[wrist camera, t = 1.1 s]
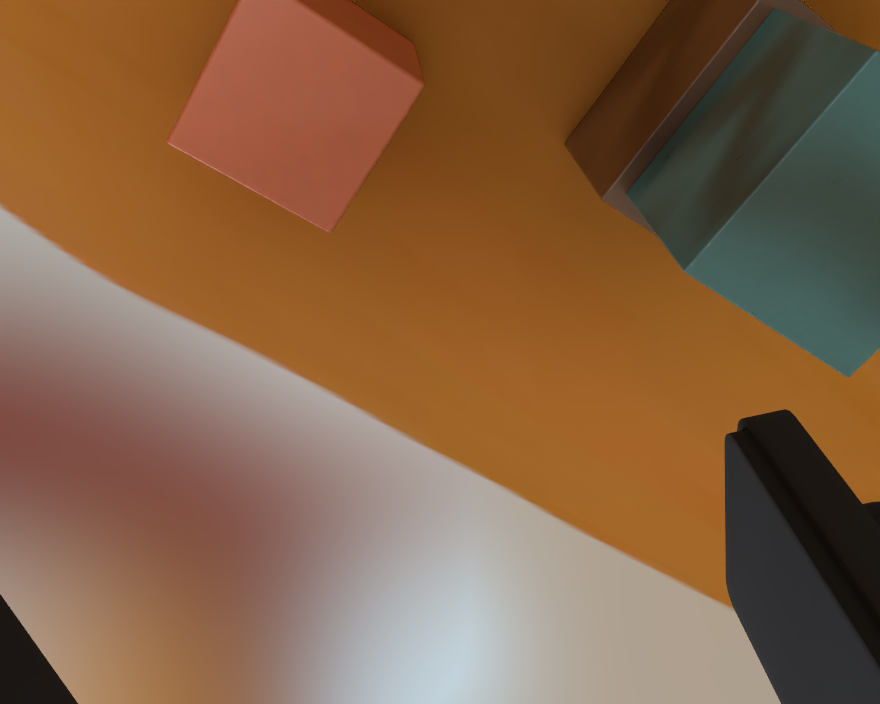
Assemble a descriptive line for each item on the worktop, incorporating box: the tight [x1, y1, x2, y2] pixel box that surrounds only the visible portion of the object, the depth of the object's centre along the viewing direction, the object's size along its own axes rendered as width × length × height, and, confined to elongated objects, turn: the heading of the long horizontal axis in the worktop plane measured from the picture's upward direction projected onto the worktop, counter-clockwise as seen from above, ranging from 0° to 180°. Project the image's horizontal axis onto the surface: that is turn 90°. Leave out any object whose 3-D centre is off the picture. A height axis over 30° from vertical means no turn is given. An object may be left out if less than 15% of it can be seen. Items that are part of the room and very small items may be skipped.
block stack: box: [565, 0, 880, 377], centre depth 24 cm, size 7×7×10 cm
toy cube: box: [167, 0, 425, 233], centre depth 24 cm, size 5×5×5 cm
